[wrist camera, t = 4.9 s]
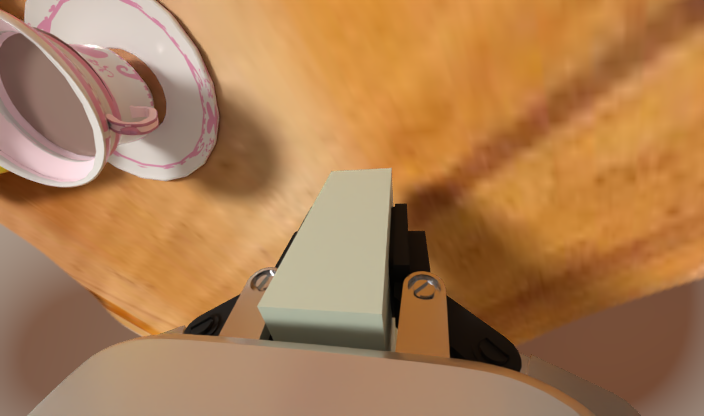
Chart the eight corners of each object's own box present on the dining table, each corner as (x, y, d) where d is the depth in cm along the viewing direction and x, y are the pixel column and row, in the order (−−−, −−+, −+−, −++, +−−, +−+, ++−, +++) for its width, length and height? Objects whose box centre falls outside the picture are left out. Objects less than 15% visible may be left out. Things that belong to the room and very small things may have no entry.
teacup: (72, 155, 19) (-49, 188, 14) (-3, -59, 13) (-264, -144, 8) (224, 195, 19) (162, 244, 14) (218, 1, 13) (106, -43, 8)
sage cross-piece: (391, 168, 12) (381, 314, 6) (399, 345, 20) (399, 495, 13) (331, 171, 13) (257, 306, 6) (361, 341, 21) (343, 484, 14)
